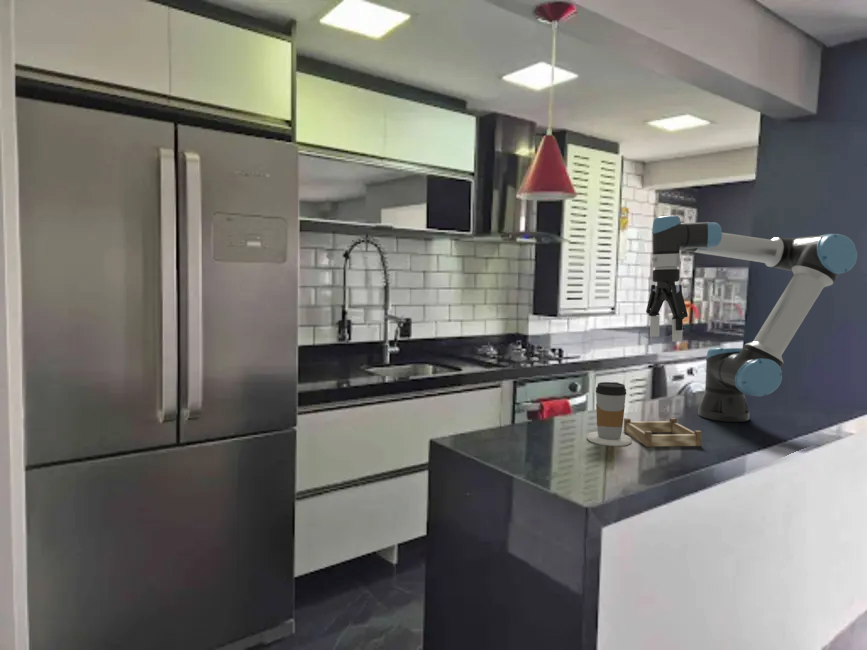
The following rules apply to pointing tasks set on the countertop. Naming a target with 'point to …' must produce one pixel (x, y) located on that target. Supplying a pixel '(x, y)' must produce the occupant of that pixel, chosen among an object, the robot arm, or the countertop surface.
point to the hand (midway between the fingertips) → (665, 339)
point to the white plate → (620, 442)
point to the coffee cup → (610, 409)
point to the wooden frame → (679, 438)
